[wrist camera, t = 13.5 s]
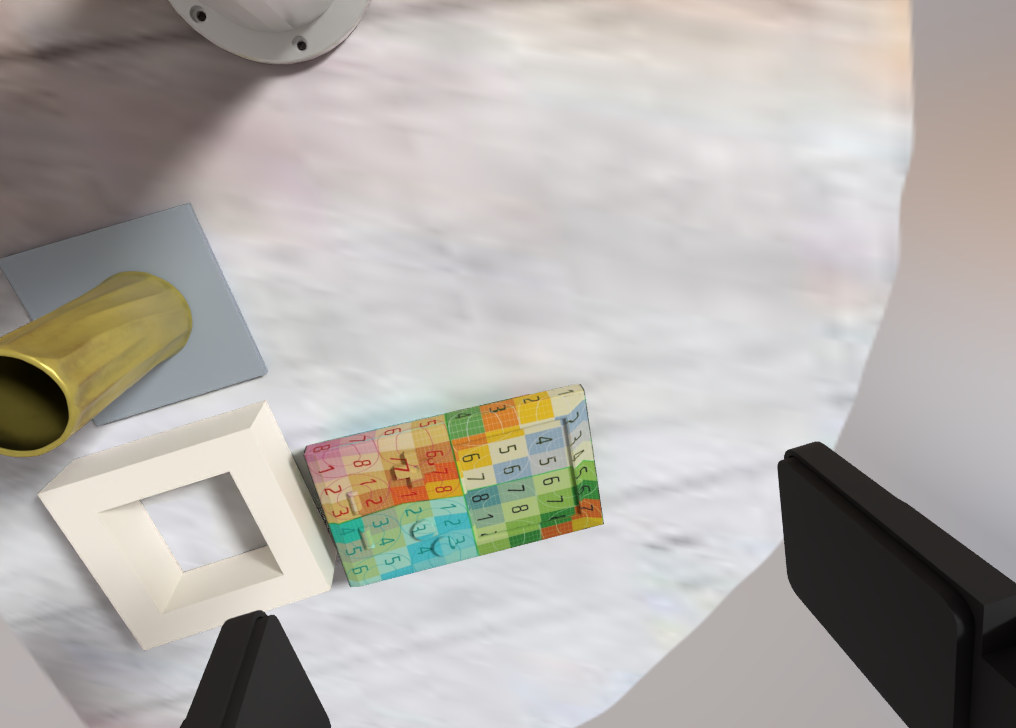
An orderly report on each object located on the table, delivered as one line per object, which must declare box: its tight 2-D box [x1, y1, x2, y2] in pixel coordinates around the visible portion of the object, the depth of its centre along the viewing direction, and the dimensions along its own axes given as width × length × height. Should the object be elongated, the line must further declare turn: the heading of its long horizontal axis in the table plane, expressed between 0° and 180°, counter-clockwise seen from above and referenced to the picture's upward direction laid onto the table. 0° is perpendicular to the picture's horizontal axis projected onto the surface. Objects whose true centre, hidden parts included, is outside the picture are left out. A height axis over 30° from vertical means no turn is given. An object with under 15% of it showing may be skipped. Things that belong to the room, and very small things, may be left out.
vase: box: [0, 271, 192, 457], centre depth 33 cm, size 6×6×14 cm
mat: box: [0, 203, 268, 426], centre depth 40 cm, size 12×12×1 cm
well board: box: [37, 400, 338, 651], centre depth 44 cm, size 14×14×4 cm
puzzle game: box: [303, 384, 604, 587], centre depth 46 cm, size 12×5×20 cm
